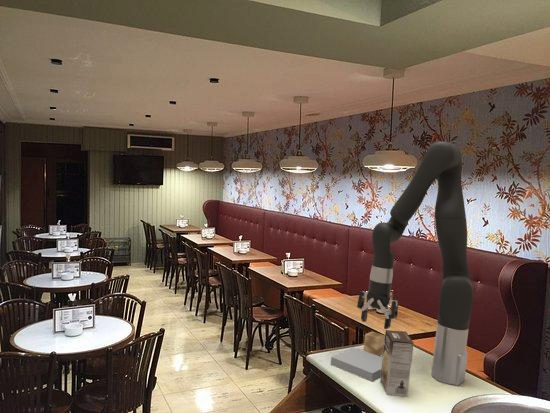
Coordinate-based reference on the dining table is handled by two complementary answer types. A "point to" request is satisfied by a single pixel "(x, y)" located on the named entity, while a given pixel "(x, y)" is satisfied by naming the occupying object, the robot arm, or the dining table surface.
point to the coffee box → (396, 362)
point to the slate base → (359, 363)
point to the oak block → (374, 343)
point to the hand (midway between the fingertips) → (374, 324)
